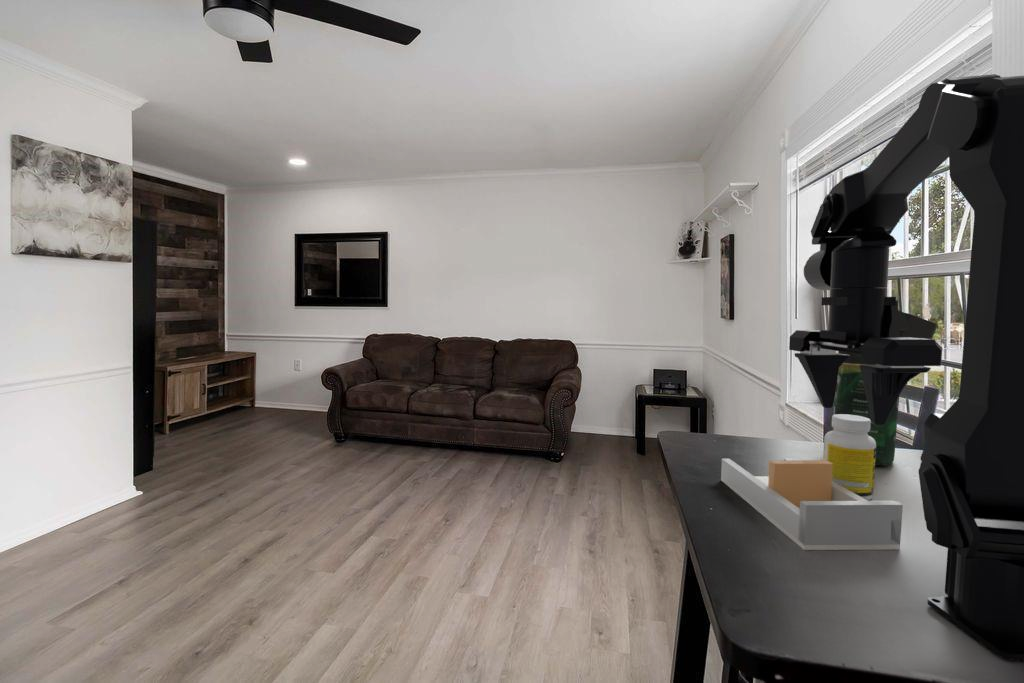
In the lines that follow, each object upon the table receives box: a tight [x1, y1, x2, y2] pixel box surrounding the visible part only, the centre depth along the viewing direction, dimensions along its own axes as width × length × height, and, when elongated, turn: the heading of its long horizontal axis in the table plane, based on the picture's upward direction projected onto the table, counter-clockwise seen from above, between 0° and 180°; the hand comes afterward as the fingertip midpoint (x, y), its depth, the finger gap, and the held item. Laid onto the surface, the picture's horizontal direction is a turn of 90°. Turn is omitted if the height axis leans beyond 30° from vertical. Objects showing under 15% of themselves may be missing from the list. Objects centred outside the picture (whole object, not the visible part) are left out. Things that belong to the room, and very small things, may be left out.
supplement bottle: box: [822, 413, 876, 501], centre depth 62 cm, size 5×5×10 cm
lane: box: [720, 457, 904, 551], centre depth 58 cm, size 19×9×4 cm, turn 0°
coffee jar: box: [834, 343, 900, 467], centre depth 76 cm, size 10×8×19 cm
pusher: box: [768, 459, 833, 506], centre depth 57 cm, size 1×7×5 cm, turn 90°
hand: (851, 415), depth 62 cm, fingers open, 9 cm apart
